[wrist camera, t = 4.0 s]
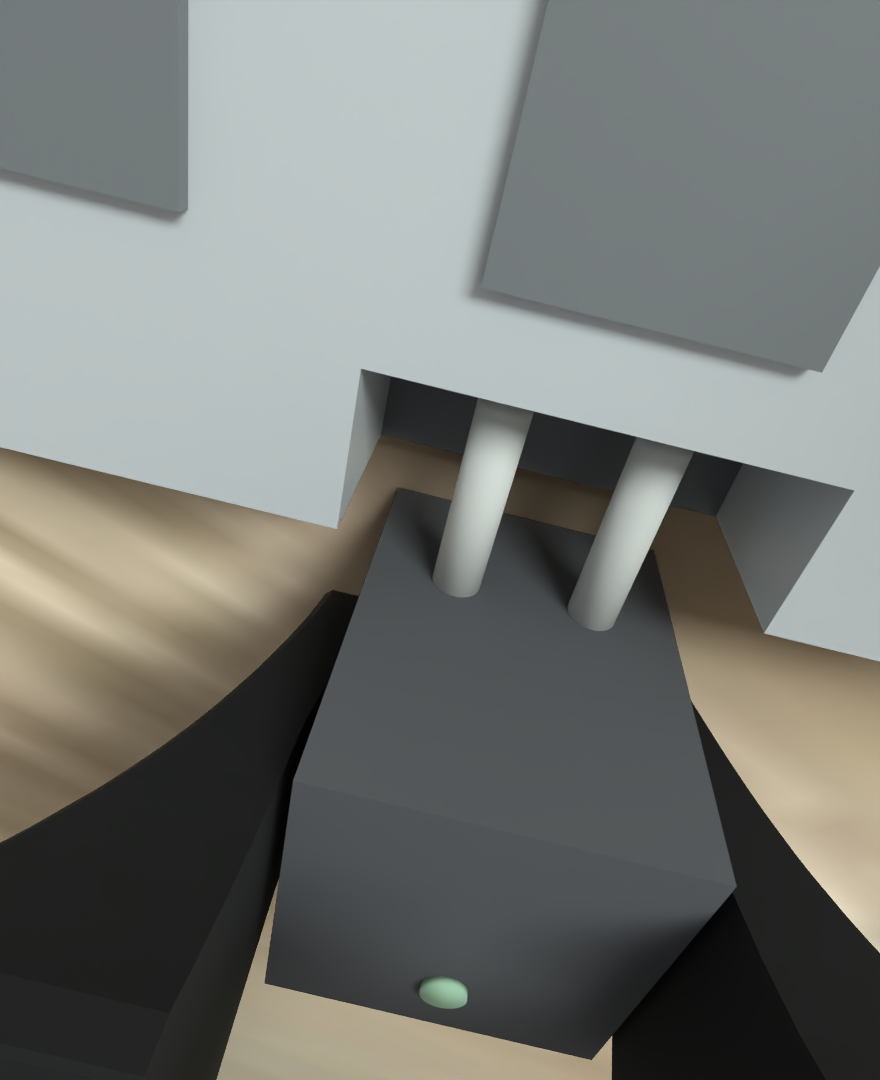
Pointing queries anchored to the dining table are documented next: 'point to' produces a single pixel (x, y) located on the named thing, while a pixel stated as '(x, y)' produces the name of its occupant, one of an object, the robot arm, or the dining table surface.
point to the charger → (504, 769)
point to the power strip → (459, 255)
